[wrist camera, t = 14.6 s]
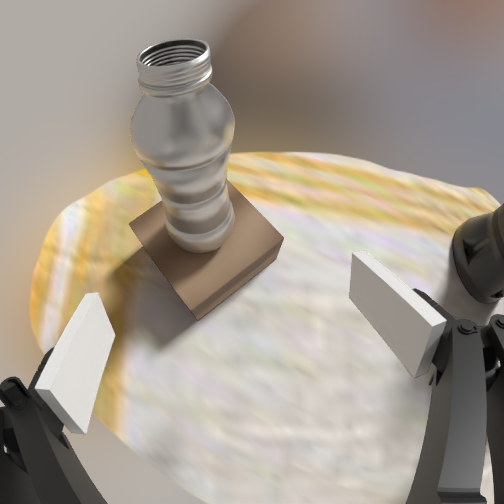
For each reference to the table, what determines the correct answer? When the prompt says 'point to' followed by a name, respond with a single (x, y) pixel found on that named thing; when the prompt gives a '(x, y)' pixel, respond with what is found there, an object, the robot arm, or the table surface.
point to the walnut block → (211, 255)
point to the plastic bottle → (185, 141)
